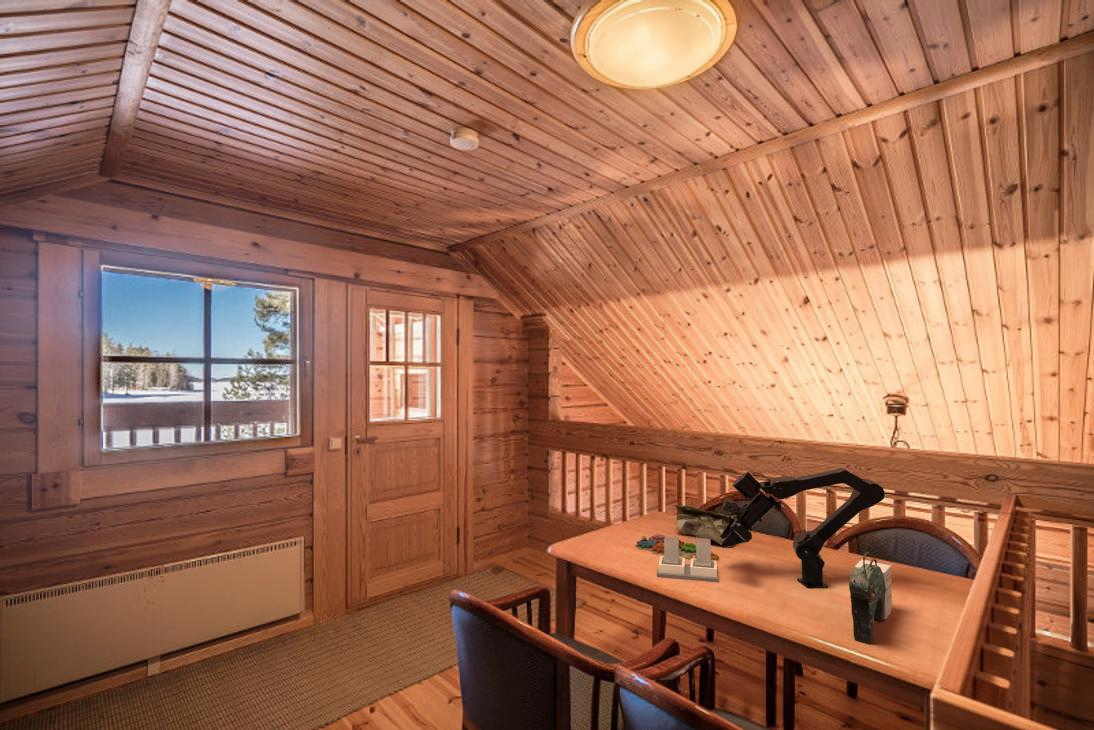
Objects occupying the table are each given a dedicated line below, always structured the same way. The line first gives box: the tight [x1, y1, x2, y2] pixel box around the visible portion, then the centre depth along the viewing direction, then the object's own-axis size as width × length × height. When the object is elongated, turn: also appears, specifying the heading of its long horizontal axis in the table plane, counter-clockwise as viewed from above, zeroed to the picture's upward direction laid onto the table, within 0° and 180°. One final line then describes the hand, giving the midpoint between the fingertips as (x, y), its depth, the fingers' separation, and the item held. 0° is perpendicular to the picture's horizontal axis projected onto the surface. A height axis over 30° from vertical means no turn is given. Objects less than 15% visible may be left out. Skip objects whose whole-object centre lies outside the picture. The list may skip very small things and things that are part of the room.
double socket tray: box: [656, 555, 720, 583], centre depth 175 cm, size 19×11×4 cm, turn 73°
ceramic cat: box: [848, 551, 886, 645], centre depth 135 cm, size 20×6×20 cm, turn 137°
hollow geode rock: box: [674, 504, 733, 549], centre depth 209 cm, size 28×13×15 cm
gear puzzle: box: [634, 533, 720, 561], centre depth 196 cm, size 31×16×4 cm, turn 41°
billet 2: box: [695, 537, 712, 568], centre depth 174 cm, size 4×4×10 cm
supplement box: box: [854, 558, 893, 621], centre depth 145 cm, size 7×7×13 cm
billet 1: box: [663, 535, 680, 565], centre depth 177 cm, size 4×4×10 cm
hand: (721, 542), depth 172 cm, fingers open, 9 cm apart
